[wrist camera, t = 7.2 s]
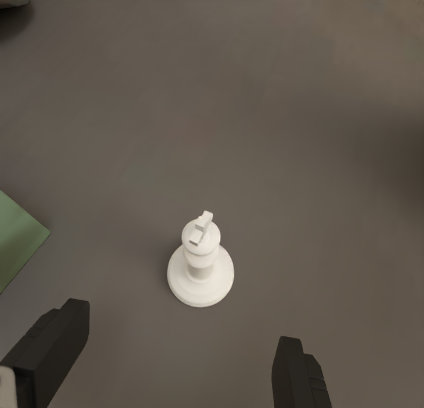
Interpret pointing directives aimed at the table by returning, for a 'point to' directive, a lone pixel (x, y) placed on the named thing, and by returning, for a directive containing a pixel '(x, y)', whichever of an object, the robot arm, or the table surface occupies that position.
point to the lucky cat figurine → (12, 3)
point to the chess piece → (200, 265)
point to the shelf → (17, 238)
